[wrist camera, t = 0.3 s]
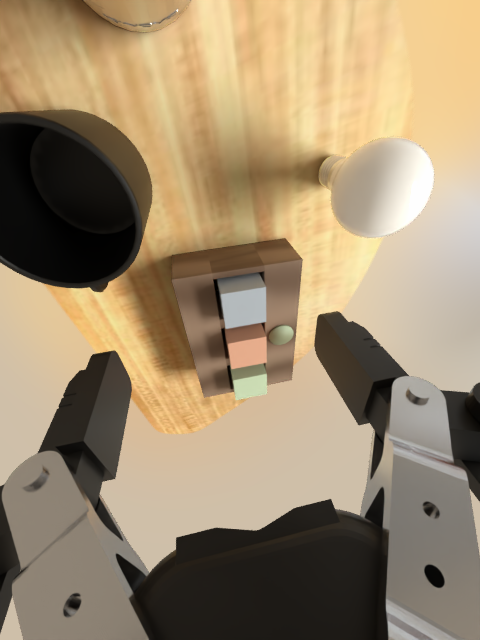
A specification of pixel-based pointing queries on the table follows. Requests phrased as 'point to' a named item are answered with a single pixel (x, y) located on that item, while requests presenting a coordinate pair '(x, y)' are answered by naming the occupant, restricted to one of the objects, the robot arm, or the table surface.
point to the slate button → (242, 299)
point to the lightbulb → (379, 186)
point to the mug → (70, 198)
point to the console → (206, 315)
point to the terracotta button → (246, 345)
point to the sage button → (249, 381)
